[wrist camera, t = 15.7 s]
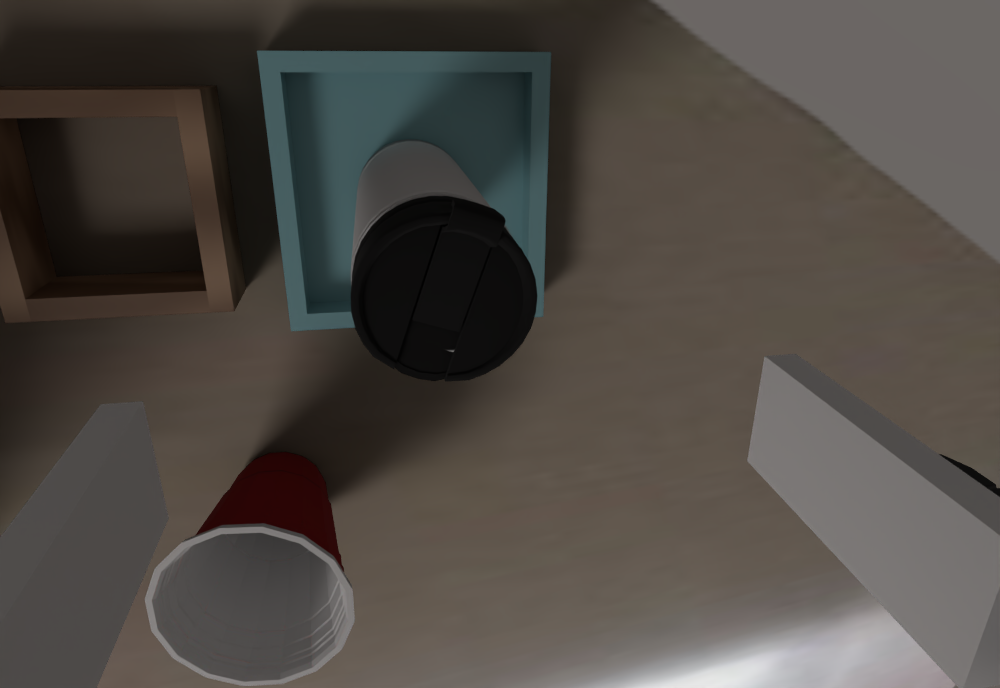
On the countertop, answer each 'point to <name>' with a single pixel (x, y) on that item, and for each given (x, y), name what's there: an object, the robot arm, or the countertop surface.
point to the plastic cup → (257, 581)
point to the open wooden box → (45, 297)
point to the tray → (388, 118)
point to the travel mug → (435, 268)
